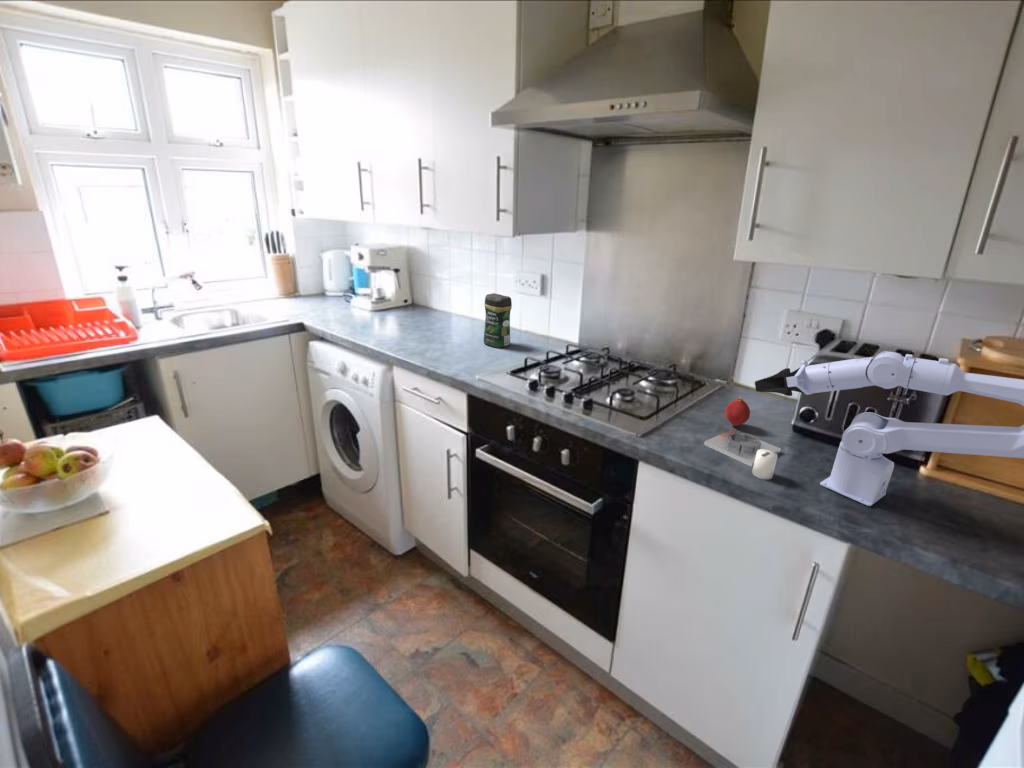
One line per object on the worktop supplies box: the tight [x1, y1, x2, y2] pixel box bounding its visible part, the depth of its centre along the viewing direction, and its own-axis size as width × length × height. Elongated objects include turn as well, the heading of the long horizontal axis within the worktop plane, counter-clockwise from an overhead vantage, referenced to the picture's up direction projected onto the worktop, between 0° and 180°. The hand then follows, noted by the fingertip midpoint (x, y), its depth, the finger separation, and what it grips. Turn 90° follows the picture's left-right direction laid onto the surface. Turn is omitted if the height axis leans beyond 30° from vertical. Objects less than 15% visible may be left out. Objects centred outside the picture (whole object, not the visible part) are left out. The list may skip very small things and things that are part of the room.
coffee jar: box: [483, 292, 513, 349], centre depth 188 cm, size 10×8×19 cm
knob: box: [751, 449, 779, 480], centre depth 110 cm, size 4×4×5 cm
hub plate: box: [703, 428, 782, 468], centre depth 121 cm, size 12×12×2 cm
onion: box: [724, 396, 751, 427], centre depth 132 cm, size 6×6×8 cm
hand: (762, 385), depth 113 cm, fingers open, 7 cm apart
